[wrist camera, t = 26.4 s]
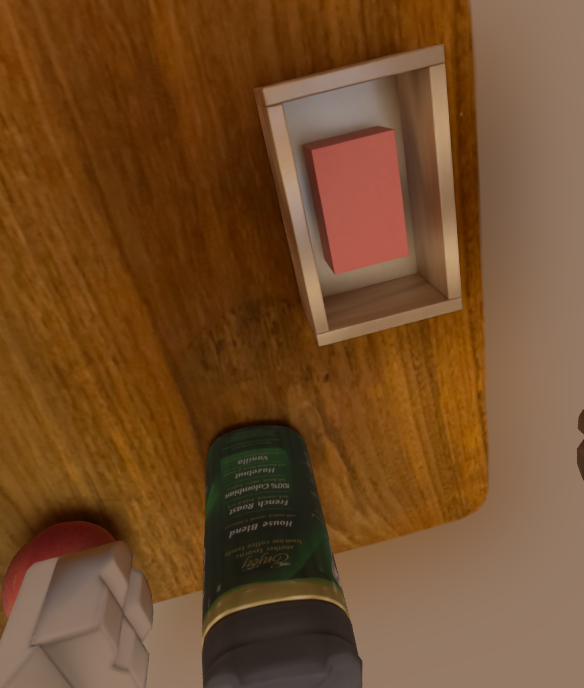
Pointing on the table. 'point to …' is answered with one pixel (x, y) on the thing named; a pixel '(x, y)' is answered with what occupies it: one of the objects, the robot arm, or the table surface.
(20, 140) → the table surface
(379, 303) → the holder
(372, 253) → the red rectangular block
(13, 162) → the table surface
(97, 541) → the apple
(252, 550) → the coffee jar
